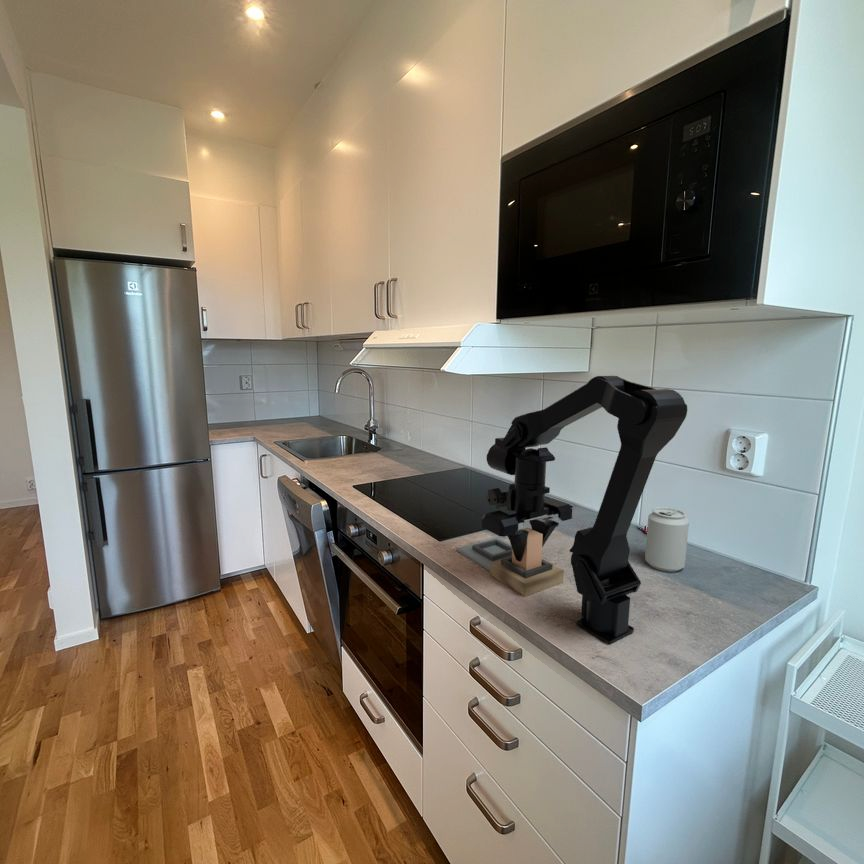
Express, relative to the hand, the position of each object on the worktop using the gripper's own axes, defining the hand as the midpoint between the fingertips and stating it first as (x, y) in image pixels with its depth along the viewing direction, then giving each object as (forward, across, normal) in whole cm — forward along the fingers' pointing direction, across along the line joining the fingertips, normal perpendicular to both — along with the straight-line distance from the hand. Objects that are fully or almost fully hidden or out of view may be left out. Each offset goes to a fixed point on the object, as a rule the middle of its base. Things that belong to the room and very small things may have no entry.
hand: (526, 558), depth 89 cm
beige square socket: (+4, 0, 0) cm, 4 cm away
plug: (+2, 0, 0) cm, 2 cm away
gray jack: (+4, -2, -12) cm, 13 cm away
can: (+4, -29, +11) cm, 31 cm away
